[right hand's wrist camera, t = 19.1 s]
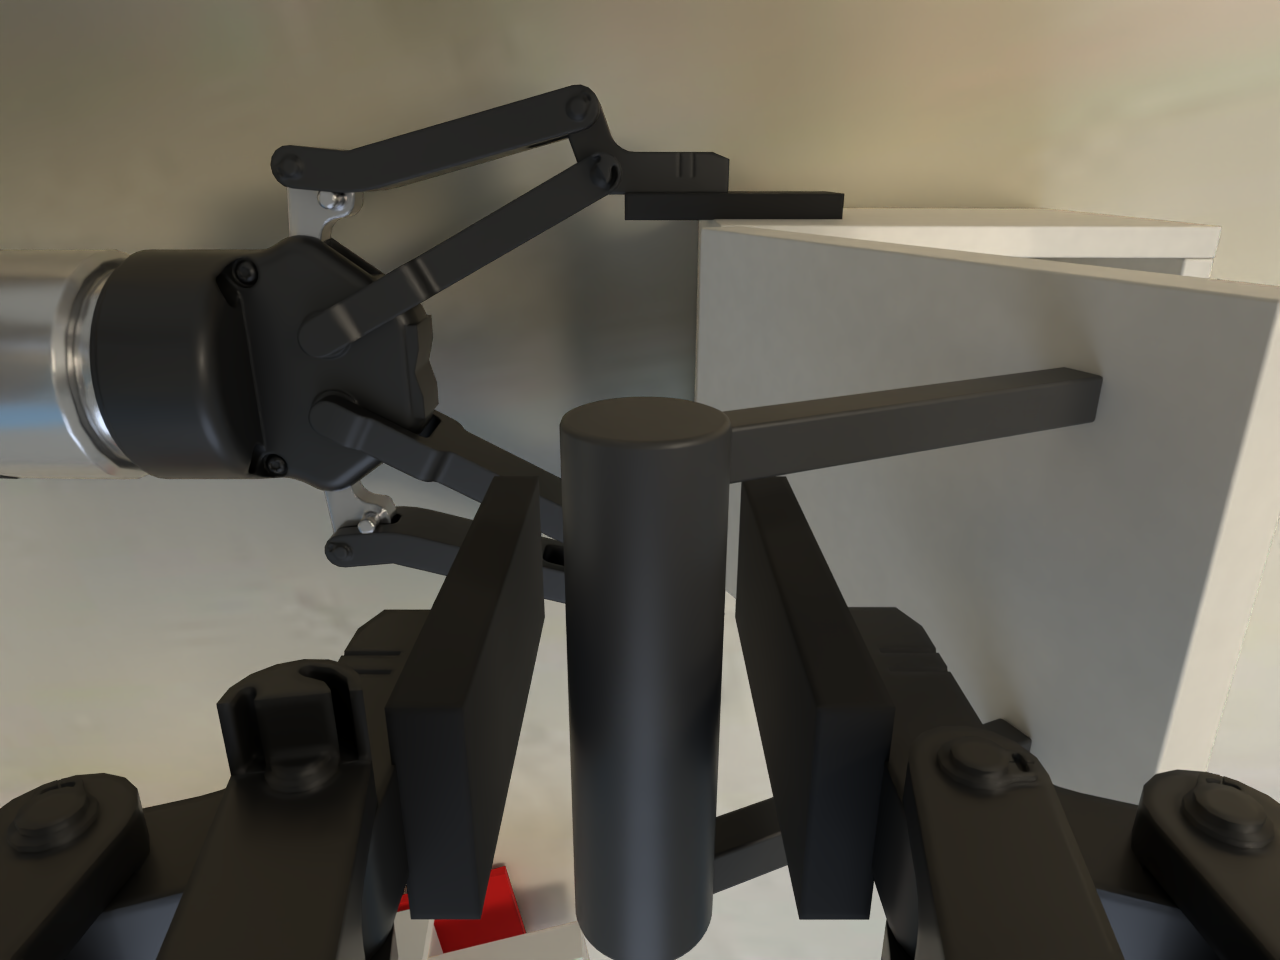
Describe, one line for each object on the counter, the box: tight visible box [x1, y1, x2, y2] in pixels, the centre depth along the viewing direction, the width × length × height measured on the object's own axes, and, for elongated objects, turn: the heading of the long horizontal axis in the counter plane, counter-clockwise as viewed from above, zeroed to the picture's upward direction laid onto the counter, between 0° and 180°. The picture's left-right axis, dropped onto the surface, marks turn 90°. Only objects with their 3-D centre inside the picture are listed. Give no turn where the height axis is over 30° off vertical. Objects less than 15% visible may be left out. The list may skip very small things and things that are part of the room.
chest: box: [695, 208, 1222, 402], centre depth 29 cm, size 13×10×11 cm
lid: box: [560, 226, 1280, 960], centre depth 16 cm, size 14×10×9 cm
